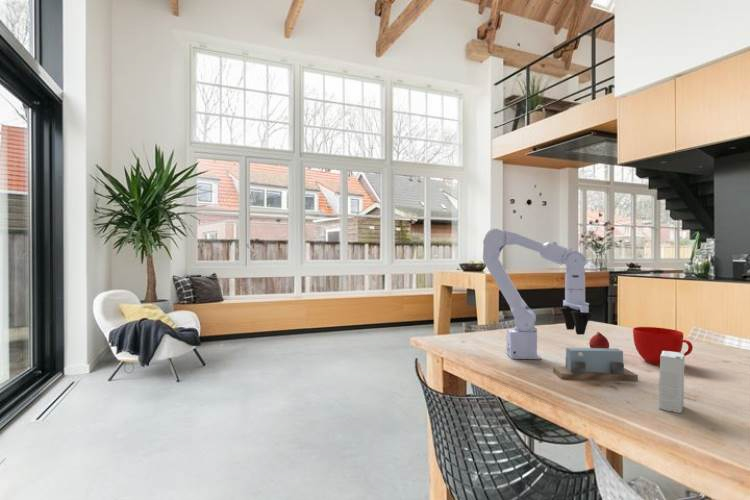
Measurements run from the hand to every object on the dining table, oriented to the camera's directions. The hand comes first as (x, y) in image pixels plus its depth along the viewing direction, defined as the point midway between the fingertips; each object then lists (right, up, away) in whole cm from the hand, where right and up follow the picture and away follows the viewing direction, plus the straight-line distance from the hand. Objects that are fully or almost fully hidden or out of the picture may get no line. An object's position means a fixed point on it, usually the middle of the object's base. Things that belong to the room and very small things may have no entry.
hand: (575, 331), depth 127 cm
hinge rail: (-2, -9, -15) cm, 18 cm away
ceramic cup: (+26, -10, -3) cm, 28 cm away
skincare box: (+3, -10, -37) cm, 39 cm away
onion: (+12, -10, +7) cm, 17 cm away
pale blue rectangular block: (-2, -8, -15) cm, 17 cm away
